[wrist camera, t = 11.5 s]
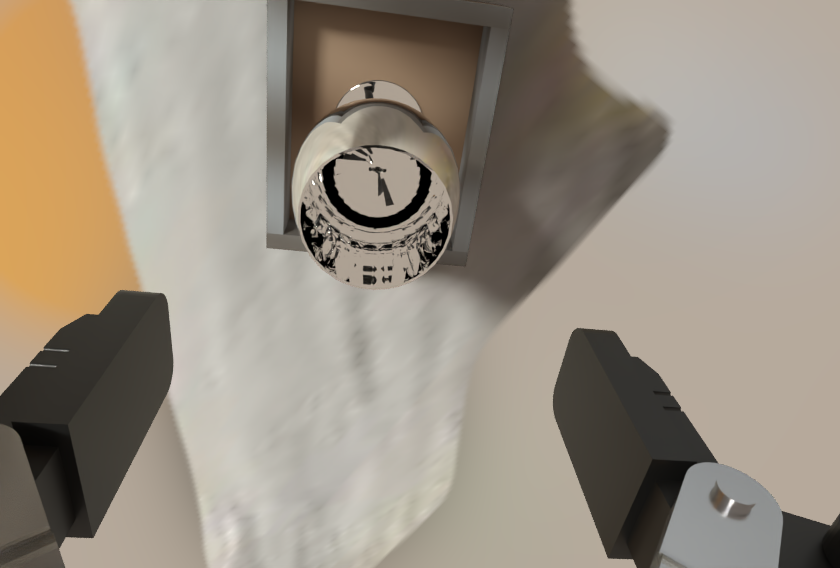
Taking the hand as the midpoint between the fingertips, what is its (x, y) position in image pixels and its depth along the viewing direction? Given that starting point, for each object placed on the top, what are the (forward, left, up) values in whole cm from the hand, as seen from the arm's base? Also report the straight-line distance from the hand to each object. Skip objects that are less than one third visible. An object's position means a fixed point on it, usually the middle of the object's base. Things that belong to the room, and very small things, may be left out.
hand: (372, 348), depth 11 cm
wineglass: (0, 0, -19) cm, 19 cm away
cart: (0, 0, -22) cm, 22 cm away
